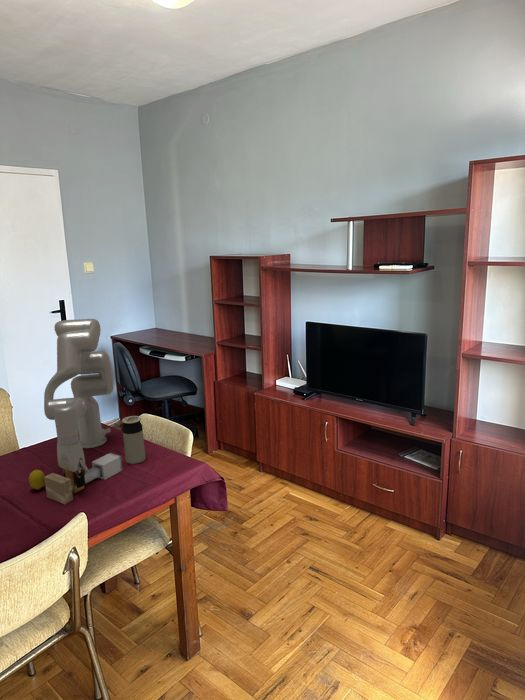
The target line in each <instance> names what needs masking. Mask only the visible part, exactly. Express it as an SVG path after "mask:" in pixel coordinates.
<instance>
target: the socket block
mask: <svg viewBox="0 0 525 700" xmlns="http://www.w3.org/2000/svg"><path fill="white" fill-rule="evenodd" d="M44 480H45V484H44V486H45V492H46V497H47V498H48V499H50V500H53V501H55V502H58V503H61V504H63V505H66V504H68V503H70V502H72V501H74V495H73V494H74V493H73V492H72V487H71V480H70V479H68V478H66V477H64V475H63V476H62V475H60V474H57V473H55V472H51V473H49V474H48V475H45V477H44Z"/></svg>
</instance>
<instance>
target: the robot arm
mask: <svg viewBox="0 0 525 700" xmlns="http://www.w3.org/2000/svg"><path fill="white" fill-rule="evenodd" d="M100 324H101V323H100V321H98V320H97V319H95V318H84V319H83V318H81V319H65V320H64V319H63V320H60V321H59V320H58V321H57V322H55V324H54V331H55V332H54V333H55V334H56V336H57V339H56V361H57V362H56V372H55V374H54V375H52V377H51V379H50V380H49V381H48V383H47V384H46V387H45V390H44V394H43V399H44V400H43V409H44V410H43V411H44V415H45V417H46V419H48V420H50V421H51V420H52V421H54V423H55V430H56V439H57V443H56V455H57V465H58V467H59V468H61V472H62V473H63V477H66V476H65V469H66V470H69V471H72V472H75V473H76V476H77V478H76V482H77V488H80V487H82V486H84V487H85V486H86V484H85V476H84V475H85V474H86V472H87V470H89V468H88V467H87V465H86V457H85V453H84V449H93V448H98V447H101V446H102V445H104V444H105V443H106V442H107V439H108V438H107V436H106V435H107V434H109V433H111V432H112V430H111V428H109V427H108V428H106V429H105V428H103V427H102V421H101V420H102V419H101V413H100V405H99V403H98V401H97V400H96V399H95V397H99V396H107V395H110V394H112V392H113V391H114V382H113V381H114V380H113V372H112V367H111V361H110V357H109V355H108V353H107V352H106V351H102V350H99V351H98V350H97V349H98V345H99V340H100V336H101V332H102V331H101V325H100ZM71 379H72V380H71ZM70 380H71V382H70V389H71V392H72V395H73V397H66V398H55V399H54V397H55V392H56V390H57V389H58V388H59V387H60V386H61V385H62V384H64V383H66V382H67V381H70ZM79 467H80V468H79ZM78 470H81V472H80V473H79V472H78Z"/></svg>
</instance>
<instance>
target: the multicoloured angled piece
mask: <svg viewBox="0 0 525 700" xmlns="http://www.w3.org/2000/svg"><path fill="white" fill-rule="evenodd" d="M79 468H80V467H79ZM78 472H79V473H80V472H81V470H78ZM101 475H102V468H101V467H100V466H95V467H93V468H92V467H91V468H88V470H87V472H86V474H85V475H84V476H85V485H86V484H88V483H89V482H91V481H93V480H95V479H98V477H99V476H101ZM65 476H66V478H68V479H70V480H71V487H72V493H73V494H76V493H78V492H80V491H82V490H83V489H85V485H84V486H82V487H80V488H77V482H76V478H77V476H76V473H75V472H72V471H69V470H66V469H65Z"/></svg>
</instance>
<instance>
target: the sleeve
mask: <svg viewBox="0 0 525 700" xmlns="http://www.w3.org/2000/svg"><path fill="white" fill-rule="evenodd" d="M91 466H92V467H91V468H93V467H95V466H100V467H101V468H102V475H101V476H99V477H97V479H101V480H104V481H106V480H107V479H109V478H111V477H112V476H114V475H116V474H119V473H120V472H122V471H123V470H124V469H123V468H124V467H123V461H122V456H121V455H119V454H115V453H112V452H109V453H106V454H105V455H103V456H101V457H98V458H97V459H94V460H93V461H91Z"/></svg>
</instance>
